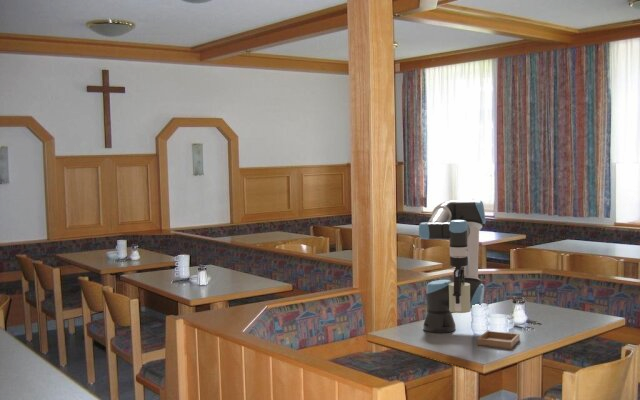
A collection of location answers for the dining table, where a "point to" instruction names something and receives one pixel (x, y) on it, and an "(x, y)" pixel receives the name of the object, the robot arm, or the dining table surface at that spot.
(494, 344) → the brown square tray
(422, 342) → the dining table surface
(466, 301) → the can
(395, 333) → the dining table surface
